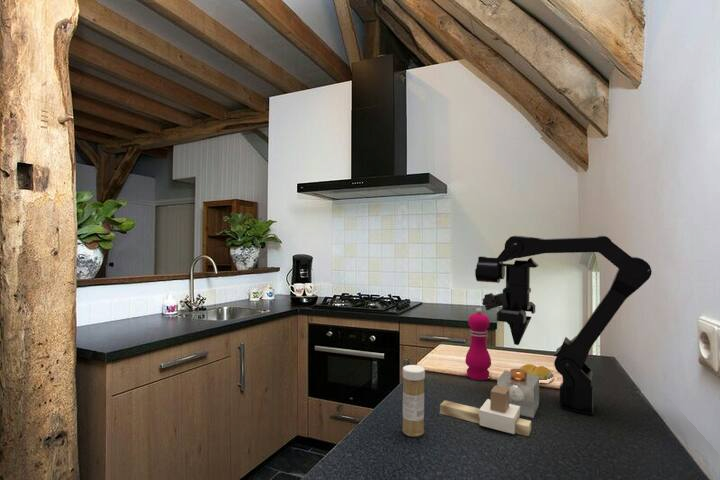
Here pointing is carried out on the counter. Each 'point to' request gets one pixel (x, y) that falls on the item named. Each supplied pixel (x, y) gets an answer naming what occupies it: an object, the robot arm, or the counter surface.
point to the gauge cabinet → (522, 392)
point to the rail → (473, 416)
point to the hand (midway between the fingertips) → (516, 344)
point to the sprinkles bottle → (413, 400)
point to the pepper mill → (478, 347)
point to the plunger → (518, 374)
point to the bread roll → (538, 371)
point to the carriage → (499, 411)
